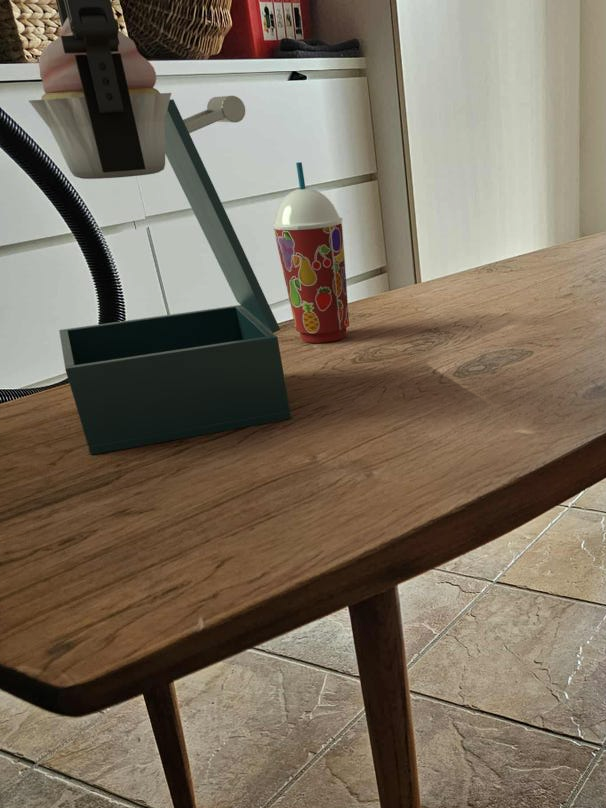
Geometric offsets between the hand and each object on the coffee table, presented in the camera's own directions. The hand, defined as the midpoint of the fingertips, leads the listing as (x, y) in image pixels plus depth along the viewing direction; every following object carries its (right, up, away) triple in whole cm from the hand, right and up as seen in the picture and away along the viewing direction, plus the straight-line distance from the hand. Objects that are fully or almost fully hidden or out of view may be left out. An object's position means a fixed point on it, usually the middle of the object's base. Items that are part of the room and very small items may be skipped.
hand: (118, 166), depth 64 cm
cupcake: (0, -1, 0) cm, 1 cm away
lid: (0, +6, +20) cm, 21 cm away
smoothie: (+6, +5, +52) cm, 52 cm away
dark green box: (-5, -10, +28) cm, 30 cm away
